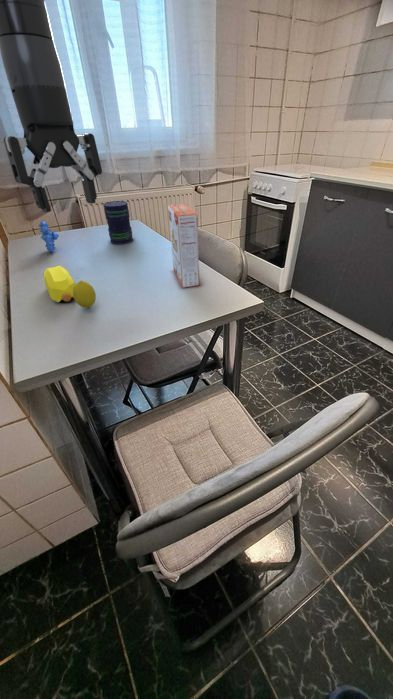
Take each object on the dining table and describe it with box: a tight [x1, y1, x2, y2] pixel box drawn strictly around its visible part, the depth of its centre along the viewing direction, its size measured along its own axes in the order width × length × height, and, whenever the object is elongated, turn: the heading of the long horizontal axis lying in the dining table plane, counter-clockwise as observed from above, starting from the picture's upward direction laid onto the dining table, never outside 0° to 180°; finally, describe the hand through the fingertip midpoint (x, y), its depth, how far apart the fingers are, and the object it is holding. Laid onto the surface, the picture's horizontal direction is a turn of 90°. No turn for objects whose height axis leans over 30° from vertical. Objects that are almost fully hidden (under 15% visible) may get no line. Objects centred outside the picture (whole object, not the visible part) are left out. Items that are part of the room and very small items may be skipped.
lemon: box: [73, 280, 97, 309], centre depth 78 cm, size 6×6×8 cm
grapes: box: [38, 220, 60, 253], centre depth 116 cm, size 12×7×12 cm, turn 23°
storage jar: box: [103, 200, 134, 245], centre depth 124 cm, size 10×10×15 cm
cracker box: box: [167, 203, 200, 289], centre depth 89 cm, size 14×6×21 cm, turn 14°
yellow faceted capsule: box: [43, 265, 76, 303], centre depth 87 cm, size 18×7×8 cm
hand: (69, 207), depth 52 cm, fingers open, 8 cm apart
